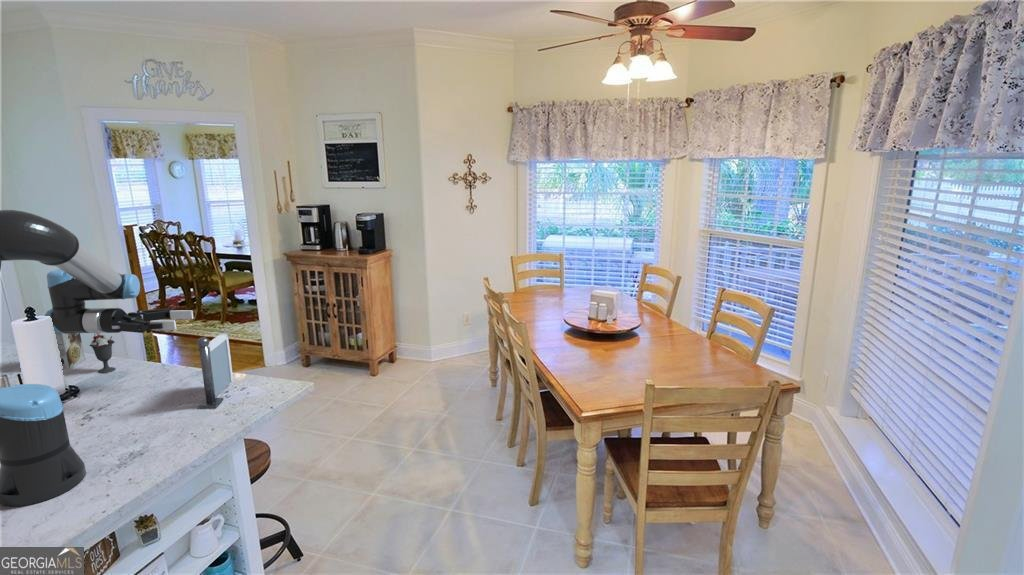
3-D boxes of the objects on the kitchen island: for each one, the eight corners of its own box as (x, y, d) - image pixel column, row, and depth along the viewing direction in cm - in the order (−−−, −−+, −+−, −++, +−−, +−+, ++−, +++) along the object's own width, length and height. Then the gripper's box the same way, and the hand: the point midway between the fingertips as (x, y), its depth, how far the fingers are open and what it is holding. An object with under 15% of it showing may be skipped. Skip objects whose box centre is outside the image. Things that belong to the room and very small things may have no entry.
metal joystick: (216, 408, 154) (207, 340, 148) (198, 408, 153) (189, 340, 148) (223, 400, 159) (215, 334, 153) (206, 401, 158) (197, 334, 153)
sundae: (89, 372, 176) (81, 331, 172) (109, 365, 182) (102, 325, 178) (103, 375, 174) (95, 333, 170) (123, 368, 180) (116, 327, 177)
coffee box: (66, 360, 186) (57, 318, 182) (86, 359, 187) (77, 317, 183) (48, 370, 177) (39, 326, 173) (69, 369, 178) (60, 325, 174)
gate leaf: (216, 397, 157) (209, 346, 153) (209, 397, 157) (202, 347, 153) (233, 380, 169) (227, 333, 165) (227, 380, 169) (221, 333, 165)
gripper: (130, 320, 168) (202, 320, 170) (82, 345, 146) (166, 343, 149) (127, 298, 166) (199, 298, 168) (77, 320, 144) (162, 319, 147)
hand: (184, 319), depth 159 cm, fingers open, 10 cm apart
